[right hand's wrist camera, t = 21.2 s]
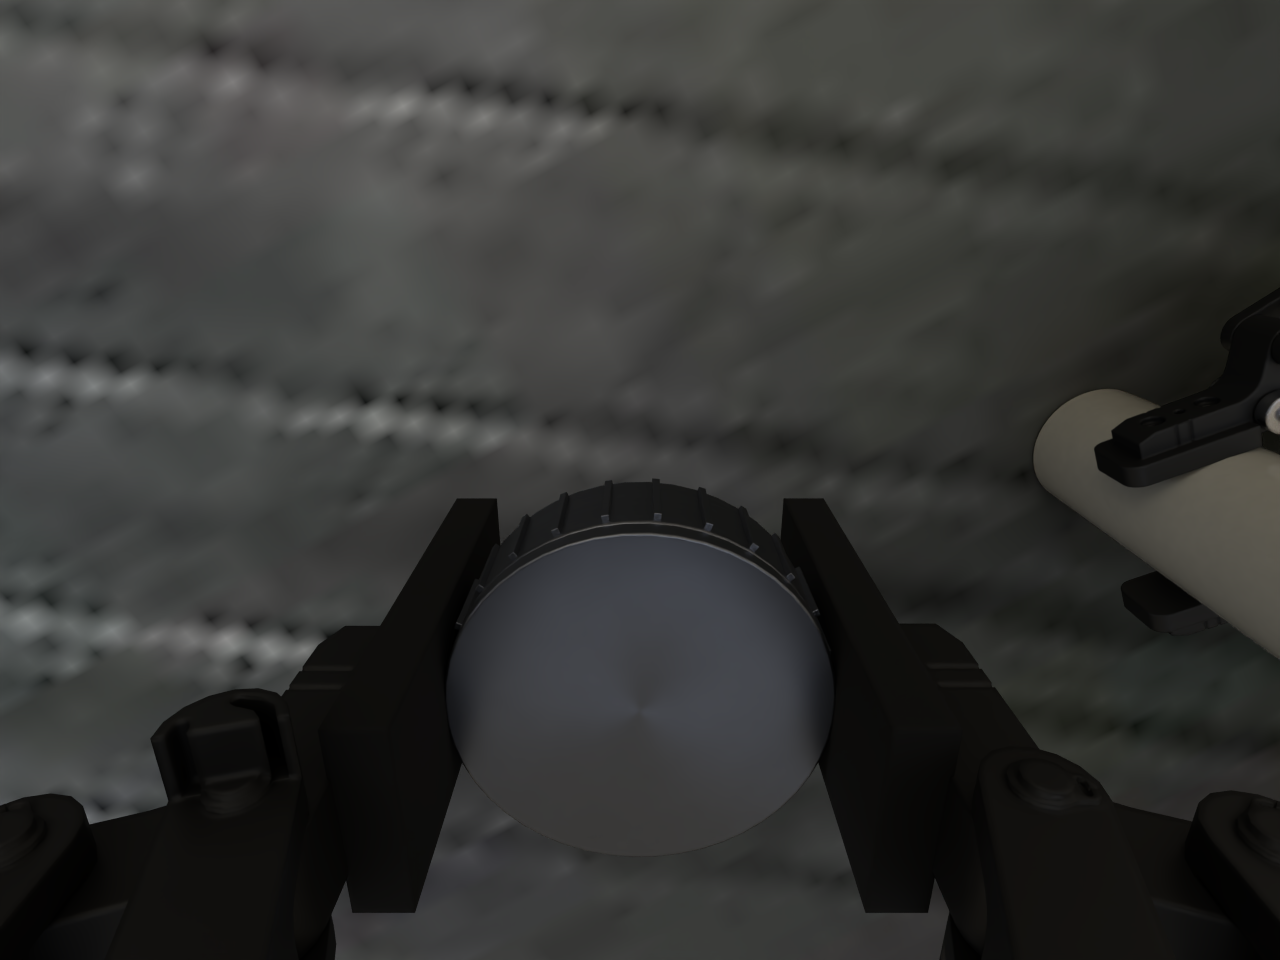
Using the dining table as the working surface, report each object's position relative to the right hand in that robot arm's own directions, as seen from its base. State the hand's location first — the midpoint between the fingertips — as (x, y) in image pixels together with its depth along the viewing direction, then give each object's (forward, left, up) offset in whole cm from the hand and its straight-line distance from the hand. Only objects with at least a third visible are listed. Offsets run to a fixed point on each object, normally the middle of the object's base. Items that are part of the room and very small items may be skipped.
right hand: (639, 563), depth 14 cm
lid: (0, 0, +4) cm, 4 cm away
